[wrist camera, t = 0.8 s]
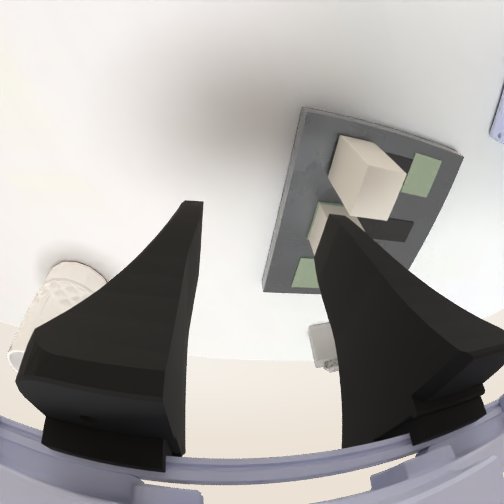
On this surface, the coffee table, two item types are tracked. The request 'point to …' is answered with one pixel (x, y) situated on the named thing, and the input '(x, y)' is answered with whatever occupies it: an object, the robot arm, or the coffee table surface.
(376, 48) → the coffee table surface
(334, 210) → the switch
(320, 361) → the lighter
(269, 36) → the coffee table surface
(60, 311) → the white cup
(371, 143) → the switch
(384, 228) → the switch unit
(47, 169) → the coffee table surface
